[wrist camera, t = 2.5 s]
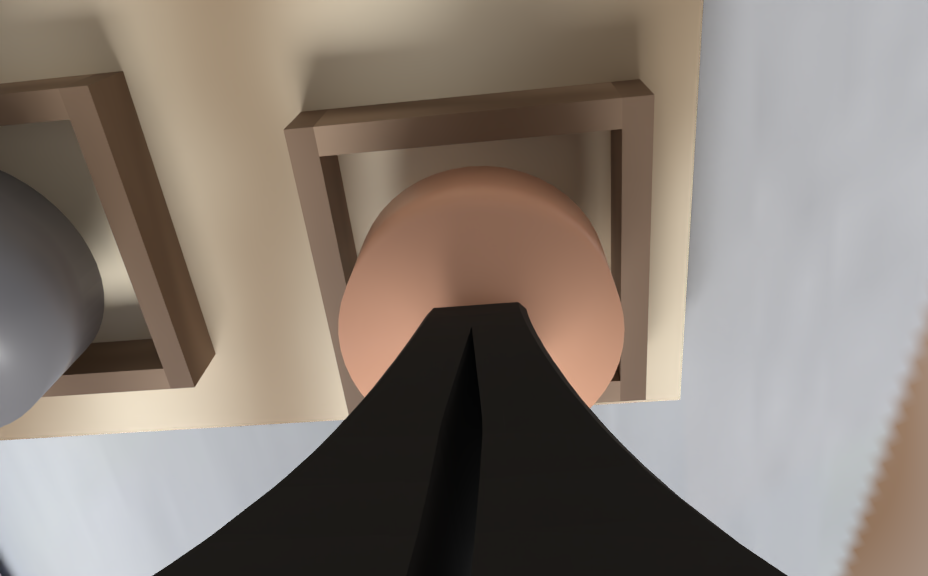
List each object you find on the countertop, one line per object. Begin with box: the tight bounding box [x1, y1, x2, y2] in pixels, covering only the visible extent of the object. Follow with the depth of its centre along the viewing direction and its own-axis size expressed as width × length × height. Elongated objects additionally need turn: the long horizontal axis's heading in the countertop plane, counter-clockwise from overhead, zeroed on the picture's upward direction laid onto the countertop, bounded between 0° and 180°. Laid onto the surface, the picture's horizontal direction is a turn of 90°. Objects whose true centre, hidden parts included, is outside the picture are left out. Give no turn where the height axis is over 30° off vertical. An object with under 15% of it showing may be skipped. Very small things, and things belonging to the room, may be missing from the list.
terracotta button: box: [338, 166, 625, 408], centre depth 11 cm, size 4×4×2 cm
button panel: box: [0, 0, 703, 440], centre depth 12 cm, size 17×16×3 cm
